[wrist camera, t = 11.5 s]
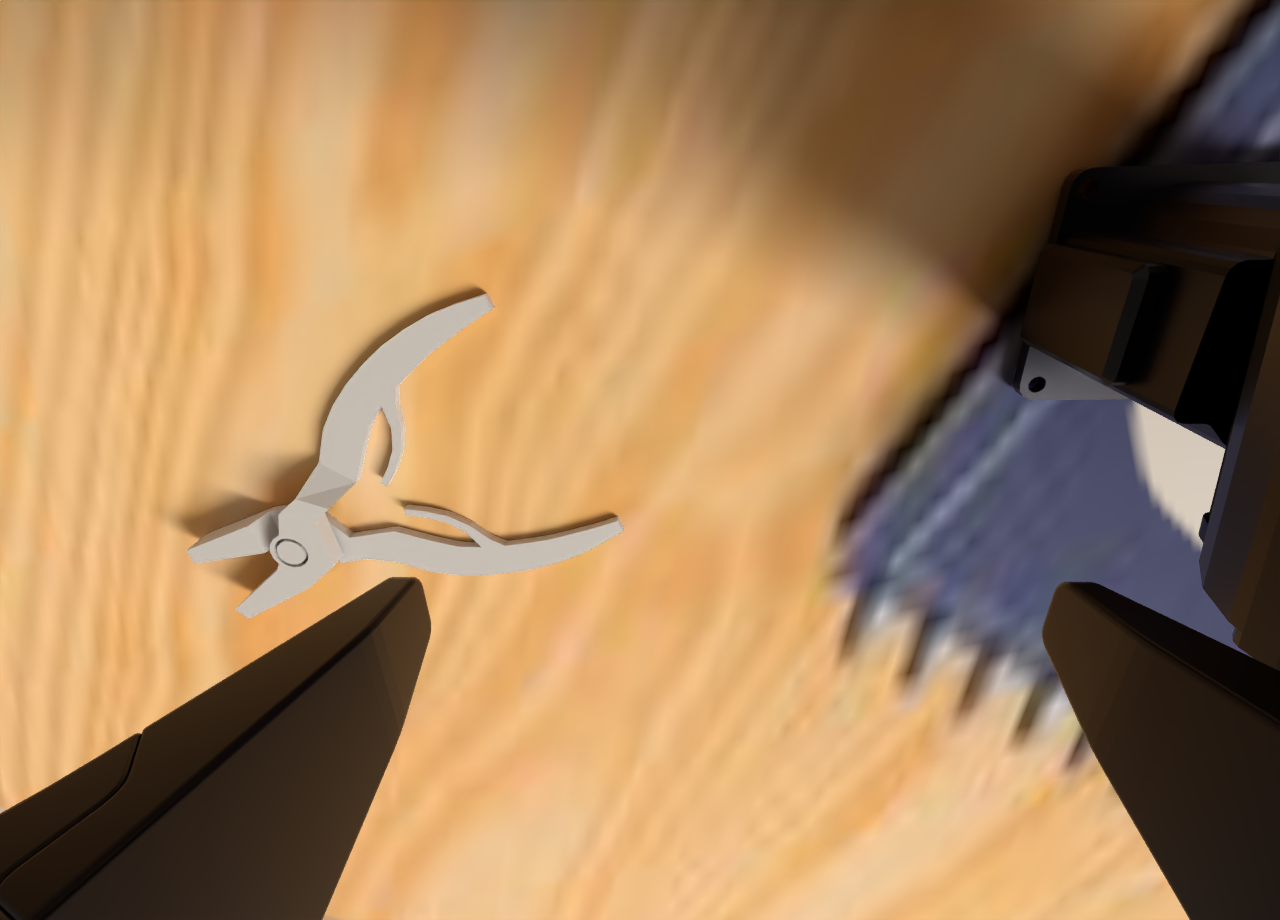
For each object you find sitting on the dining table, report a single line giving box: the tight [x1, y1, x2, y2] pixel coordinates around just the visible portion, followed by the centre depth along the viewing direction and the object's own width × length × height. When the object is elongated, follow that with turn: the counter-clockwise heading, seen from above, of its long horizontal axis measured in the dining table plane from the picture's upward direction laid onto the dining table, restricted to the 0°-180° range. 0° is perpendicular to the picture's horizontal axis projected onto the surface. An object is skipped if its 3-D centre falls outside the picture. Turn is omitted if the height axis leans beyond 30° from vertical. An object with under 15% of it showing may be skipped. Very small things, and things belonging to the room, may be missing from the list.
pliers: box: [186, 293, 624, 619], centre depth 22 cm, size 10×2×15 cm
